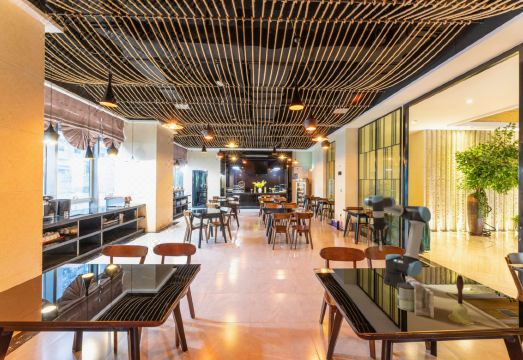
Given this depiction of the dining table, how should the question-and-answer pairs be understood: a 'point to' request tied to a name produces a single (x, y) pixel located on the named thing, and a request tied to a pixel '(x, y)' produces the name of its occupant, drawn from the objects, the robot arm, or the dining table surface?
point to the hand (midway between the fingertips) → (380, 250)
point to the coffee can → (405, 296)
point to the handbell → (460, 306)
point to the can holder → (422, 298)
